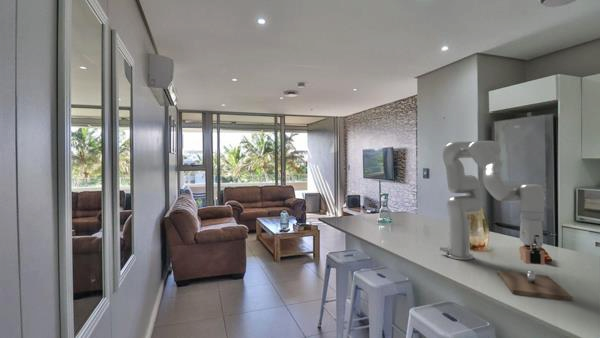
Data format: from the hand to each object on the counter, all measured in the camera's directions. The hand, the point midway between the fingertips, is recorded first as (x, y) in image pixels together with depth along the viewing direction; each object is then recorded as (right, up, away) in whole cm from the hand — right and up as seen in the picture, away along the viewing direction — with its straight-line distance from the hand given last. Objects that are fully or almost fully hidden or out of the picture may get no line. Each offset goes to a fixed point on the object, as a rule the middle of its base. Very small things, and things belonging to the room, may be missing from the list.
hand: (532, 260), depth 118 cm
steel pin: (0, -9, +1) cm, 9 cm away
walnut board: (0, -10, +1) cm, 10 cm away
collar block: (0, -1, 0) cm, 1 cm away
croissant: (+27, -9, +33) cm, 44 cm away
